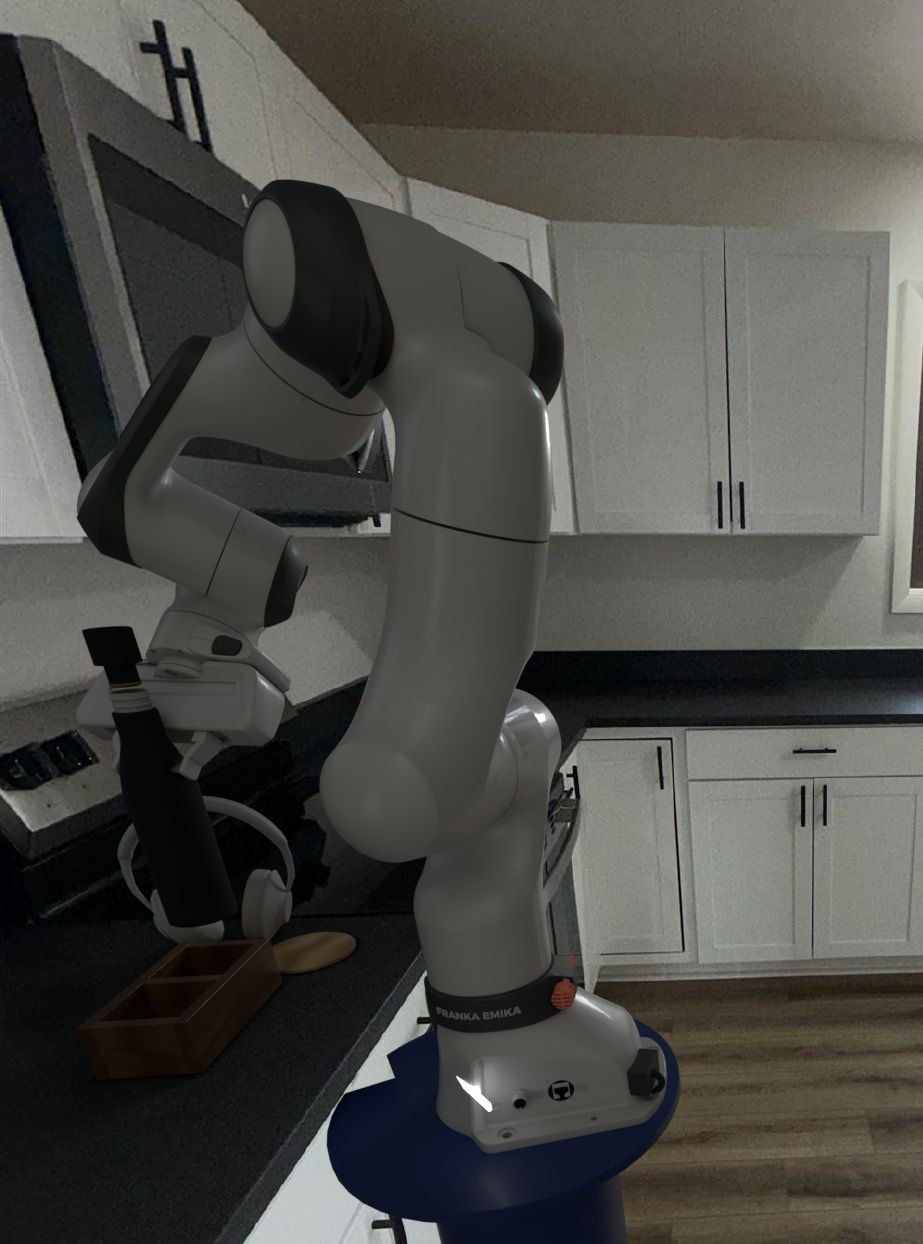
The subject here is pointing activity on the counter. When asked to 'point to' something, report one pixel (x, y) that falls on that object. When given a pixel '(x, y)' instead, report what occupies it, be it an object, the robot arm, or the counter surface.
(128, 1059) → the wooden compartment tray
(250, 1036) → the counter surface
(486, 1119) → the robot arm
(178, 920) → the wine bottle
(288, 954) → the coaster
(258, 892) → the headphones
